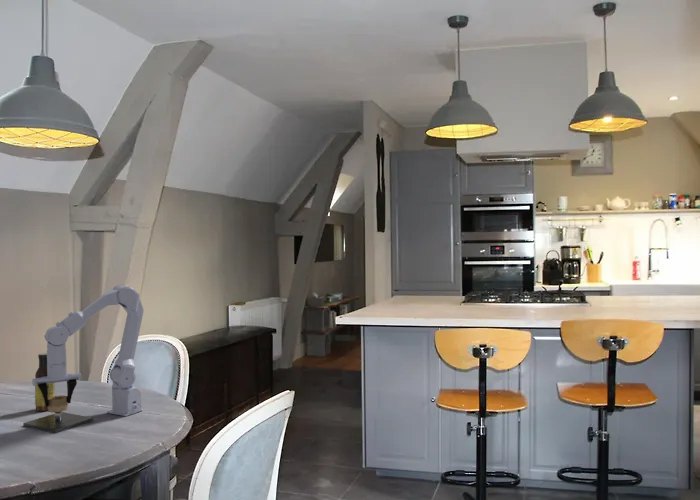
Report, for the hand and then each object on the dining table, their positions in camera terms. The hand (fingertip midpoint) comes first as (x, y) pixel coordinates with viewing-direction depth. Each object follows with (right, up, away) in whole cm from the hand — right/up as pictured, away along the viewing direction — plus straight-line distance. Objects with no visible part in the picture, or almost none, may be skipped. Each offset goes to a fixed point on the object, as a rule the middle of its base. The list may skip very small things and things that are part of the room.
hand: (57, 404), depth 207 cm
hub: (0, -6, 0) cm, 6 cm away
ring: (0, -2, 0) cm, 2 cm away
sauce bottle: (-12, -6, +17) cm, 22 cm away
